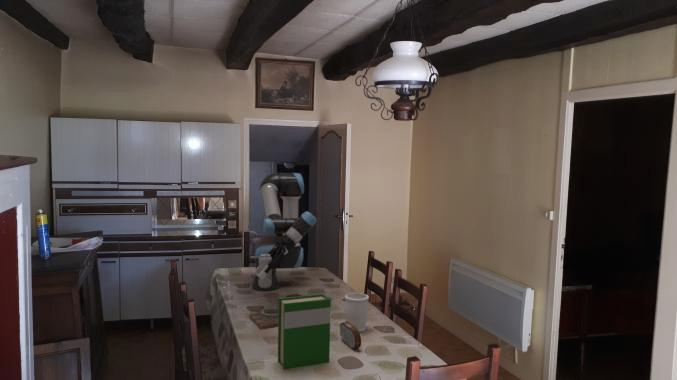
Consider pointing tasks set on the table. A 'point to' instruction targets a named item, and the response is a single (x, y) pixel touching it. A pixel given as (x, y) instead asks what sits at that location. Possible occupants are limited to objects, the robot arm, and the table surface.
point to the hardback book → (304, 330)
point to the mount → (266, 318)
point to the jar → (356, 310)
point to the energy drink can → (263, 262)
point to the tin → (350, 335)
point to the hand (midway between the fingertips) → (257, 275)
